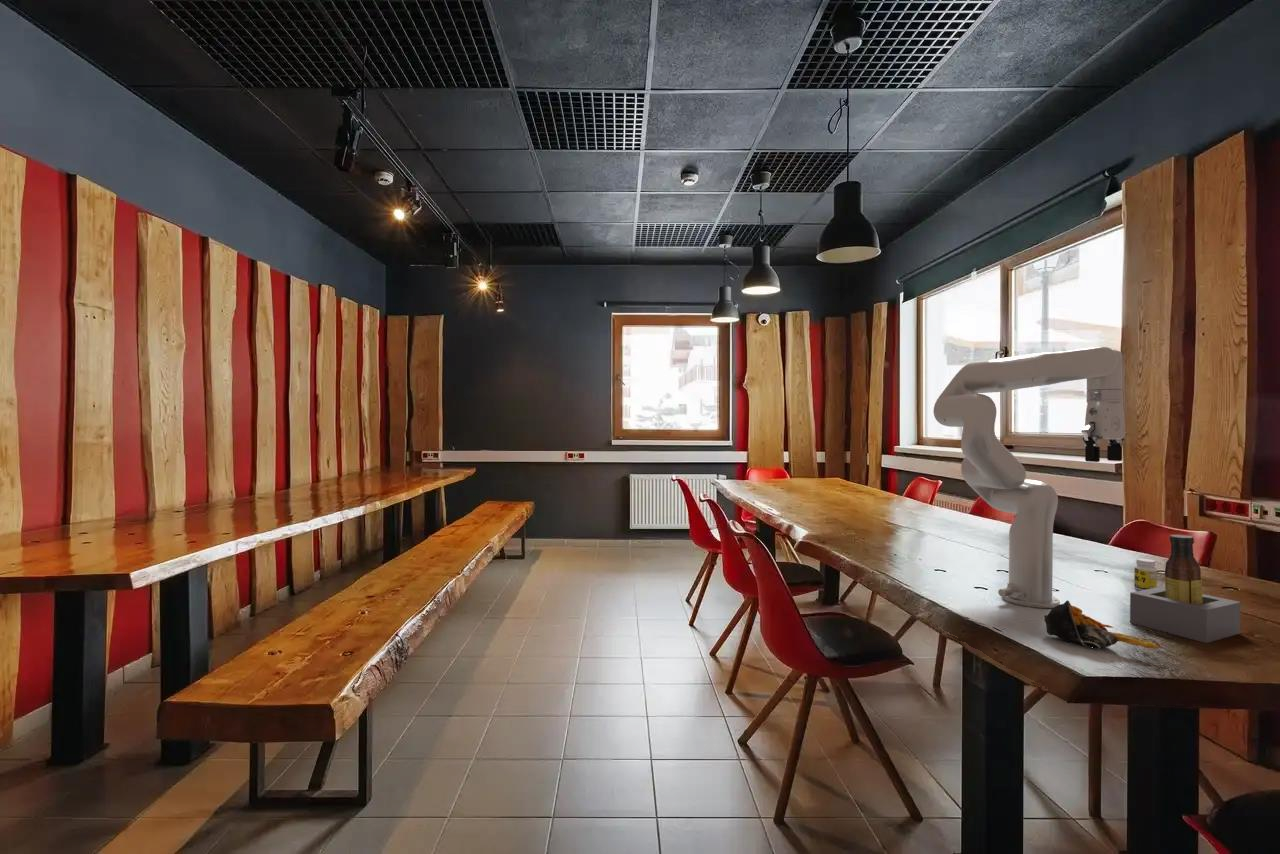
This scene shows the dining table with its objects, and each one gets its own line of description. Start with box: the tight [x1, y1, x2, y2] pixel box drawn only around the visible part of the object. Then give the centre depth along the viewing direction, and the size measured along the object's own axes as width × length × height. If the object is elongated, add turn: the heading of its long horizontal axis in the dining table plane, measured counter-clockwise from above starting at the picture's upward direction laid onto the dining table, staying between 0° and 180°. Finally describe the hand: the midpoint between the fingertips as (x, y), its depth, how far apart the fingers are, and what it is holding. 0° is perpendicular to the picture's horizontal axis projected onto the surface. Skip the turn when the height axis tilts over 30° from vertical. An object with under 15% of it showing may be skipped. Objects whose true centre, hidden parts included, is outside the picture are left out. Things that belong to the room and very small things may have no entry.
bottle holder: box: [1129, 585, 1241, 644], centre depth 135 cm, size 14×14×7 cm
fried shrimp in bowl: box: [1043, 600, 1161, 650], centre depth 124 cm, size 9×11×18 cm
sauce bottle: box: [1164, 534, 1203, 605], centre depth 135 cm, size 6×6×20 cm
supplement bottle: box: [1133, 557, 1158, 591], centre depth 166 cm, size 5×5×8 cm
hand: (1103, 461), depth 159 cm, fingers open, 9 cm apart
